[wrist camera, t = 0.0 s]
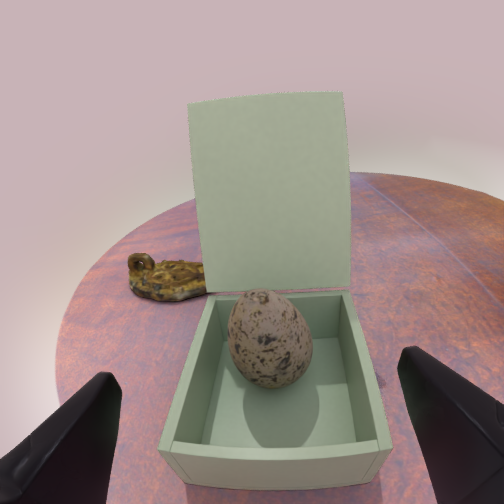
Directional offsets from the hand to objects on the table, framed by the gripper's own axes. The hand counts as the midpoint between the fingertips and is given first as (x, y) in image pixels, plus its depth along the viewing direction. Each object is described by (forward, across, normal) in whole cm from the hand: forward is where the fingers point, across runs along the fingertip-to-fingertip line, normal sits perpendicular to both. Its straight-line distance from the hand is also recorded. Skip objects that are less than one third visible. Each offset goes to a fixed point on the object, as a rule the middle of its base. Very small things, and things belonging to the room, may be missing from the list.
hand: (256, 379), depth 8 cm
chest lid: (+17, -2, -1) cm, 18 cm away
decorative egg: (+12, -1, +12) cm, 17 cm away
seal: (+30, +12, +14) cm, 35 cm away
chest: (+9, -1, +14) cm, 16 cm away
